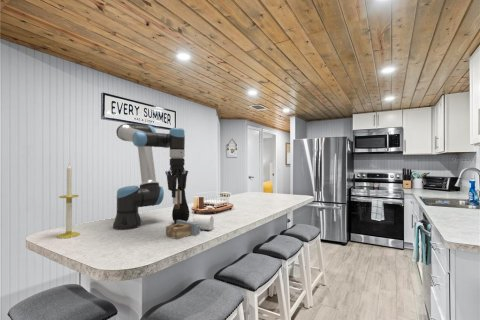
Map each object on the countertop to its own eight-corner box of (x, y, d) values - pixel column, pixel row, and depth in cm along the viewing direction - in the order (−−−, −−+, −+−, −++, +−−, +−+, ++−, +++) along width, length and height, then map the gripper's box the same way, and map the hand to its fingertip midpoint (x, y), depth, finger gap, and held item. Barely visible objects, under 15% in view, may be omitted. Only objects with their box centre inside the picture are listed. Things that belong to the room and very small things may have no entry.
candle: (73, 238, 126) (73, 163, 126) (52, 238, 126) (52, 162, 126) (84, 232, 136) (84, 162, 136) (64, 232, 136) (65, 162, 136)
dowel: (173, 208, 131) (173, 189, 131) (177, 207, 133) (177, 188, 134) (176, 209, 130) (176, 189, 130) (180, 208, 132) (180, 189, 132)
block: (165, 235, 131) (166, 226, 131) (179, 231, 139) (179, 222, 139) (177, 239, 126) (177, 229, 126) (191, 234, 133) (191, 225, 133)
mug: (209, 231, 140) (209, 217, 140) (192, 230, 142) (192, 216, 142) (215, 226, 151) (215, 213, 151) (199, 225, 153) (199, 212, 153)
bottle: (192, 222, 160) (193, 174, 160) (180, 226, 151) (181, 175, 151) (180, 220, 165) (181, 174, 165) (168, 223, 157) (168, 175, 157)
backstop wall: (176, 231, 140) (176, 220, 140) (183, 229, 144) (183, 218, 144) (194, 235, 132) (194, 224, 132) (201, 233, 136) (201, 222, 136)
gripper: (169, 157, 124) (169, 206, 123) (192, 158, 136) (192, 202, 135) (160, 157, 128) (160, 204, 128) (183, 158, 140) (183, 201, 140)
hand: (177, 203), depth 132 cm, fingers closed on dowel, 2 cm apart
